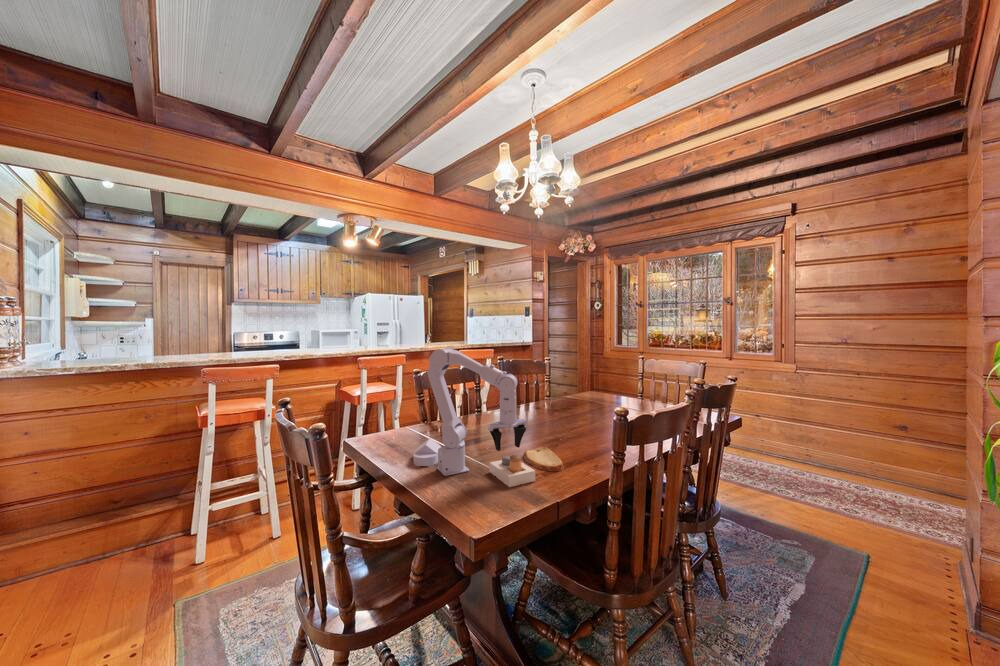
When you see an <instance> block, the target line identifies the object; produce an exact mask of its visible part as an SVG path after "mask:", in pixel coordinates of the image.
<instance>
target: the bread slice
mask: <svg viewBox="0 0 1000 666" xmlns="http://www.w3.org/2000/svg"><path fill="white" fill-rule="evenodd" d="M522 456H523V459H524V460H525V461H524V462H526V463H527V464H528V463H529V464H528V465H530V466H532V467H534V468H537V469H538V470H543V471H546V470H547V471H548V472H562V470H563V471H564V470H565V467H564V464H563V461H562V460H561V458H560V456H558V455H557V454H556V453H555V452H554V451H552V450H551V449H549V448H548V447H547V446H539V447H536V448H533V449H531V450H530V449H525V451H524V453H523V455H522Z"/></svg>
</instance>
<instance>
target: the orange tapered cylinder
mask: <svg viewBox="0 0 1000 666" xmlns="http://www.w3.org/2000/svg"><path fill="white" fill-rule="evenodd" d="M509 456H510V472H512V473H516V472H521V471H522V463H523V462H522V458H523V457H522V456H521V455H516V454H515V455H509Z"/></svg>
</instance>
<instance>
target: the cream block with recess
mask: <svg viewBox="0 0 1000 666" xmlns="http://www.w3.org/2000/svg"><path fill="white" fill-rule="evenodd" d="M510 456H511V455H504V456H502V457H501V459H500V460H495V461H489V473H490V474H492V475H493V476H494V477H495V476H496V479H498V480H499V481H501V482H502V483H503V484H504V485H506V486H507V487H508V488H512V487H516V486H521V485H525V484H528V483H533V482H536V469H533V468H531V467H530V466H529V465H527V464H526V463H524V462H522V471H521V472H516V473H512V472H510ZM520 484H521V485H520Z"/></svg>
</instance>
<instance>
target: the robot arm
mask: <svg viewBox="0 0 1000 666" xmlns="http://www.w3.org/2000/svg"><path fill="white" fill-rule="evenodd" d="M428 361H429V362H428V363H429V364H428V369H427V377H428V381H429V384H430V386H431V390H432V393H433V395H434V398H435V401H436V405H437V407H438V409H437V410H438V413H439V415H440V418H441V421H442V425H441V433H442V435H441V439H442V440H441V441H442V443H443V446H441V448H439V449H438V462H437V467H436V468H437V471H439V472H440V473H441V474H442V475H443V476H444V477H447V476H452V475H456V474H457V475H458V474H461V473H466V472H469V471H470V469H469V467H467V466H466V443H465V439H466V437H467V435H468V430H467V428H466V426H465V425H464V424H463V423H462V420H461V419H460V417H458V416H457V413H456V409H455V407H454V404H453V400H452V397H451V395H450V391H449V388H448V385H447V382H446V379H445V376H444V375H445V374H446V372H447V370H448V368H449V367H450V366H455V365H459V366H462V367H463V368H466V369H468V370H470V371H472V372H474V373H477V374H478V375H479V377H480V380H482V381H484V382H486V383H489V384H490V385H492V386H494V387H495V388H498V390H499V391H500V392H499V421H496V422H492V423H487V430H488V431H489V433H490V435H491V438H492V439H493V443H494V446H495V450H496V451H497V452H500V451H501V443H502V441H501V439H502V435H503V432H501V430H504V429H509V428H510V429H511V428H513V434H514V446H515V448H520V446H521V442H522V438H523V437H524V434H525V432H526V431H527V426H528V420H527V419H524V418H522V419H517V386H518V379H517V377H516V376H515V375H513V374H512V373H508V372H507V371H502V370H500V369H498V368H496V367H495V366H496V365H495V364H490V363H487V364H484V365H483V364H482V363H479V362H478V361H477V360H475V359H473V358H471V357H469V356H467V355H465V354H464V353H462V352H461V351H458V350H457V349H453V348H452V347H450V346H449V347H444V348H438V349H434V350H433V352H432V353H431V355H430V356H429V358H428Z"/></svg>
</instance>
